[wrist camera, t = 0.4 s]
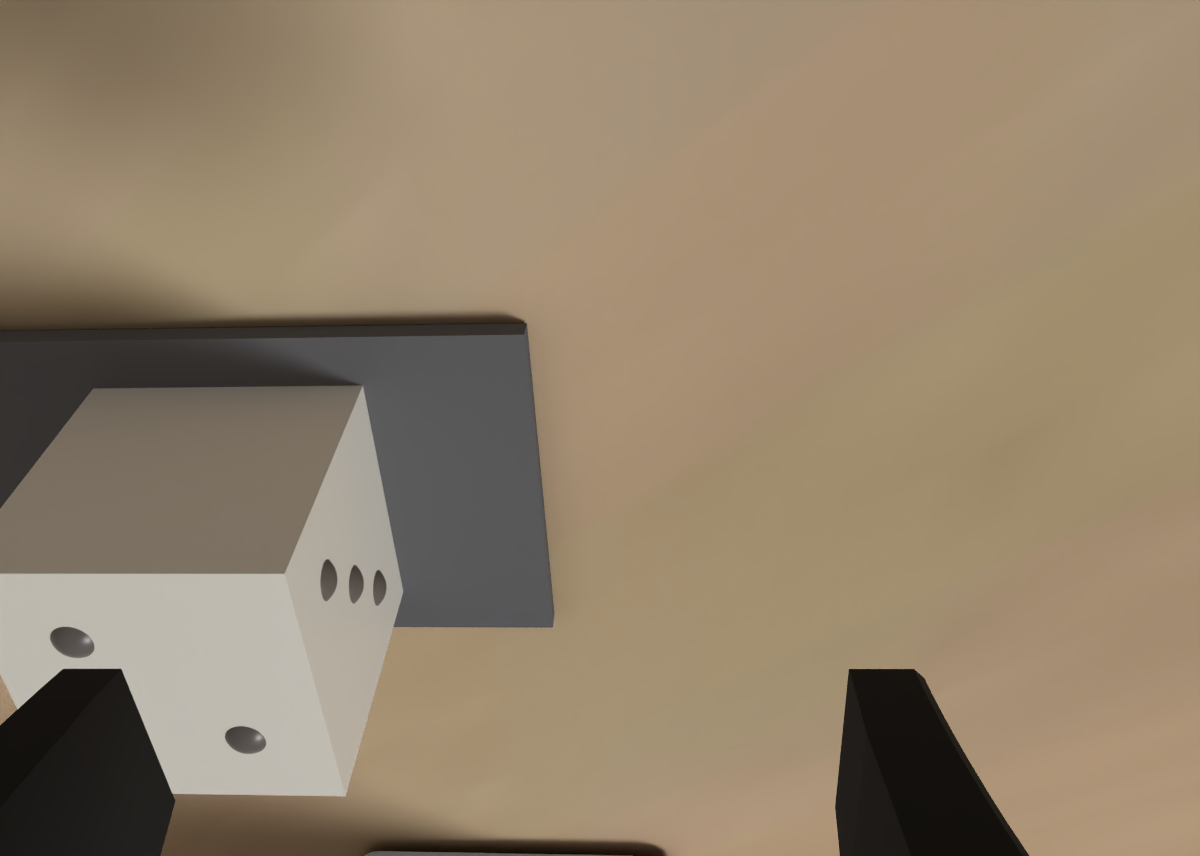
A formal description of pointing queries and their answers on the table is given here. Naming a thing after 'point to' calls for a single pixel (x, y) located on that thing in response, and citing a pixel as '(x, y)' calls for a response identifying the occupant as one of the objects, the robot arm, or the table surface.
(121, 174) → the table surface
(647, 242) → the table surface
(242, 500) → the die
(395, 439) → the mat
